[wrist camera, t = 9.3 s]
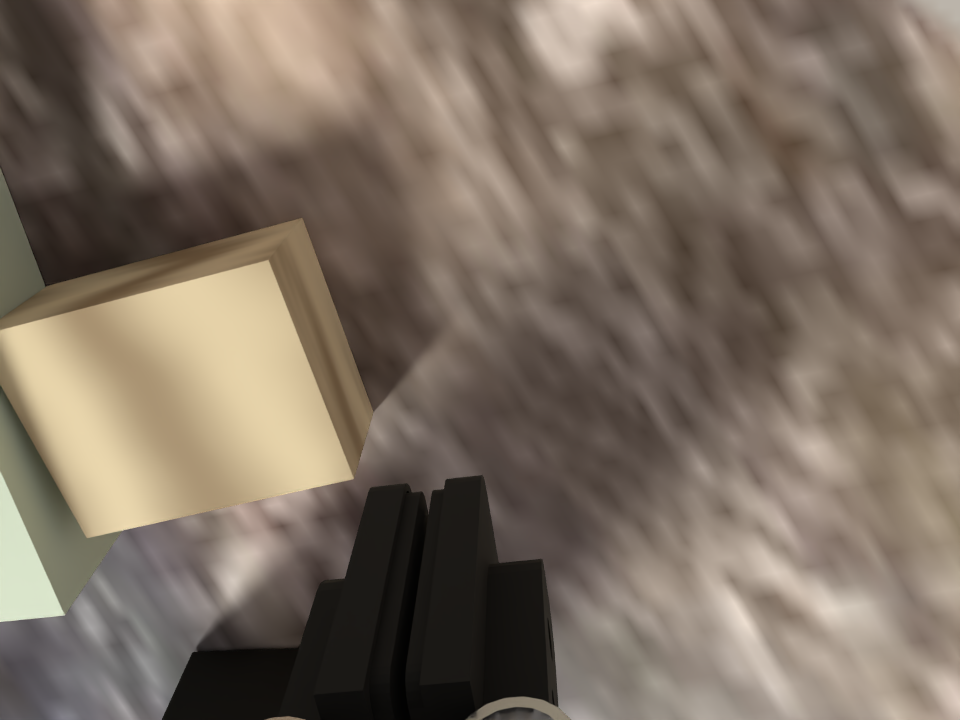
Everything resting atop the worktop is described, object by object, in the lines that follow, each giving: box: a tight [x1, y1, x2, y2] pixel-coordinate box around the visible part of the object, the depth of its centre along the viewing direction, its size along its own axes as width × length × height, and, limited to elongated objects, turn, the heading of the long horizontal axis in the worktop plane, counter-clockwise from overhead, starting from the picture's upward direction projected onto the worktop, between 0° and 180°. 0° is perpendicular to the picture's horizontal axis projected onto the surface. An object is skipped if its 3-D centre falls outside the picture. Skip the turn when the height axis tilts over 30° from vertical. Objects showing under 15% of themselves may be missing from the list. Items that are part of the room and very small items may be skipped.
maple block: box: [0, 218, 373, 538], centre depth 30 cm, size 10×8×5 cm
